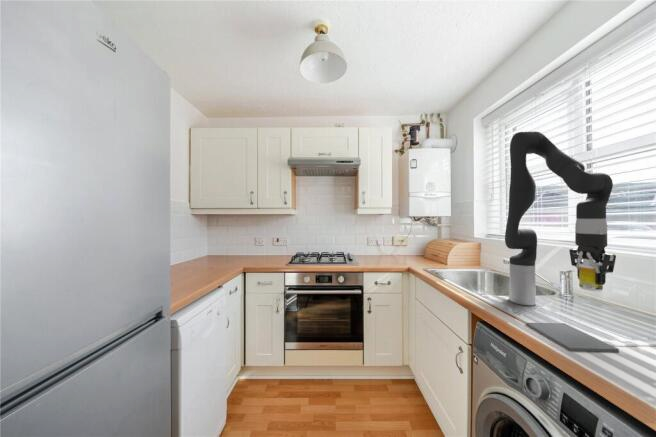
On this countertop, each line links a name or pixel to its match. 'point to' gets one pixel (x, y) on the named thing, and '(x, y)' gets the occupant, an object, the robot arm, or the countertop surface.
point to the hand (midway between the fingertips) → (590, 281)
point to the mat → (571, 337)
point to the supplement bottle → (588, 277)
